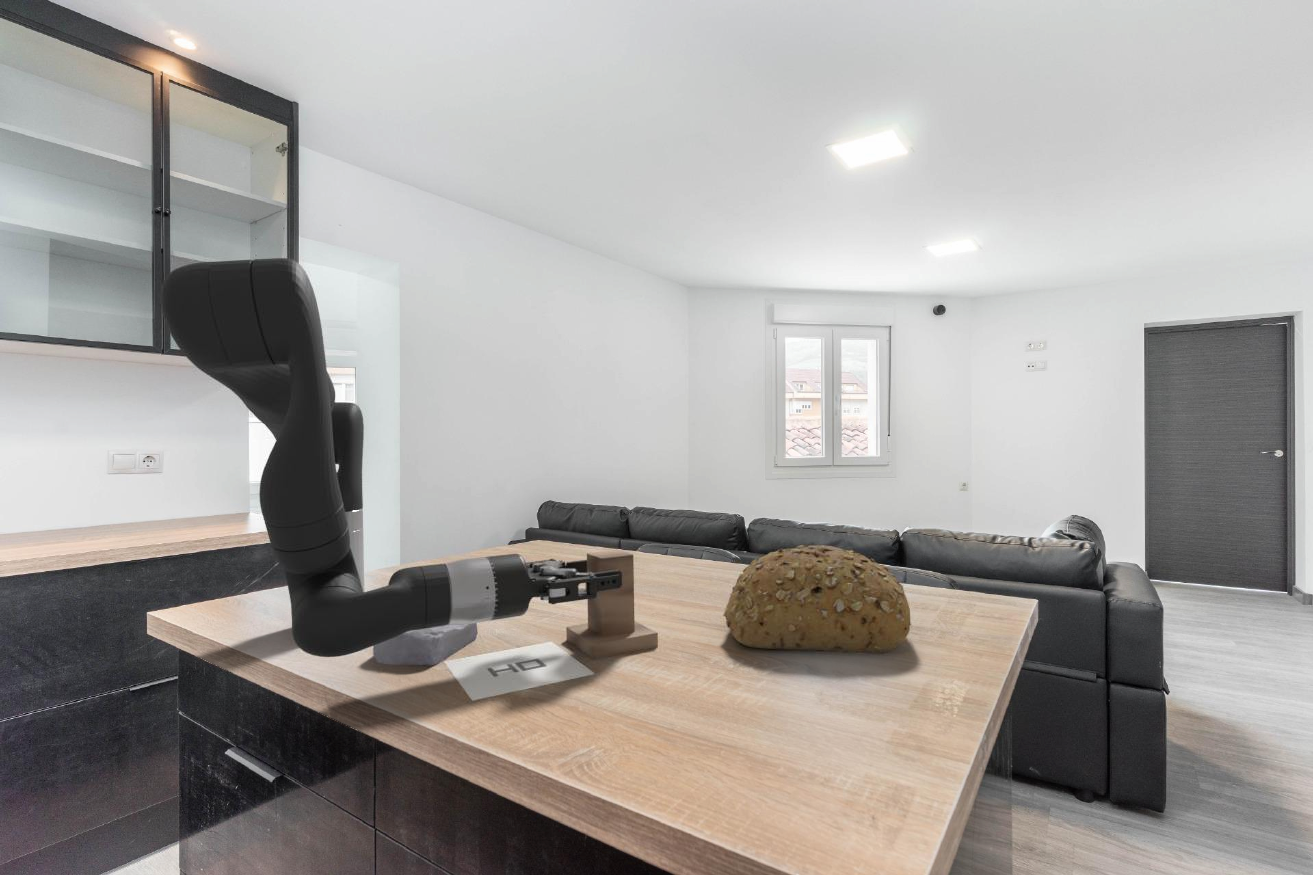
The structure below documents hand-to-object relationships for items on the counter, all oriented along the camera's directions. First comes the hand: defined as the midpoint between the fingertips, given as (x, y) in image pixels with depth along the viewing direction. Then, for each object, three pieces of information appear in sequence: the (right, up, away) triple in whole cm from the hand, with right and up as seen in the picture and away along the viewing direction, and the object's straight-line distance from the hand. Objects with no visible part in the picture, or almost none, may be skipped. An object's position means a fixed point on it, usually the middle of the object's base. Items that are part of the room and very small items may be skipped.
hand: (605, 572), depth 85 cm
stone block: (-24, -10, -1) cm, 26 cm away
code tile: (-10, -10, -9) cm, 16 cm away
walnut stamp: (+1, -10, 0) cm, 10 cm away
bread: (+28, -9, +4) cm, 30 cm away
